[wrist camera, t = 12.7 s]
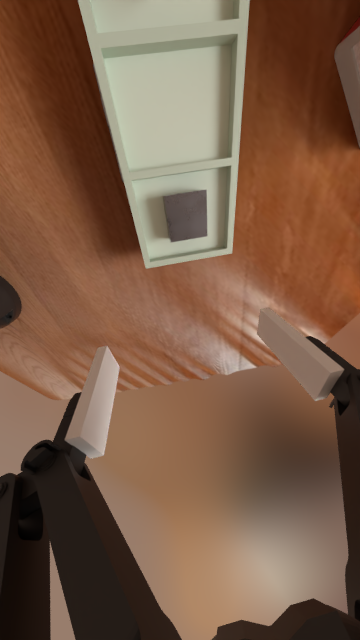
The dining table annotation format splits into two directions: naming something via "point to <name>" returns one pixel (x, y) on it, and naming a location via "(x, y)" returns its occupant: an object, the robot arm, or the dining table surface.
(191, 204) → the block
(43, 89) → the dining table surface
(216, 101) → the divided tray
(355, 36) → the red striped block
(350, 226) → the dining table surface
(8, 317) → the robot arm
